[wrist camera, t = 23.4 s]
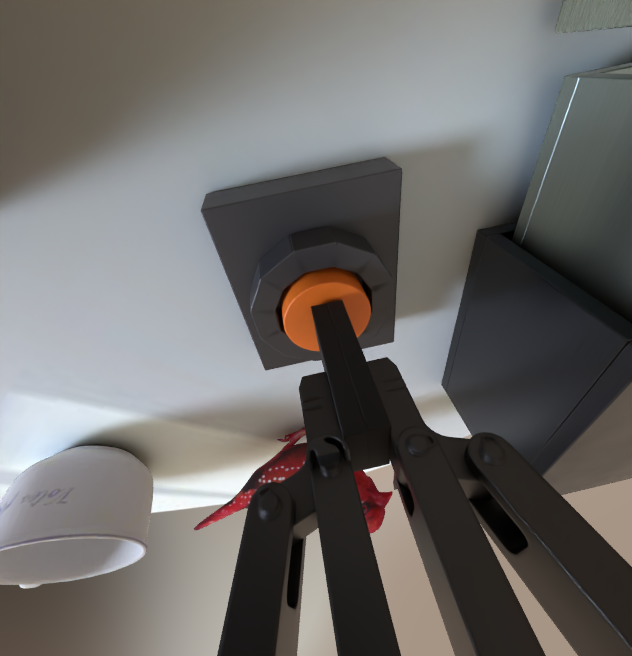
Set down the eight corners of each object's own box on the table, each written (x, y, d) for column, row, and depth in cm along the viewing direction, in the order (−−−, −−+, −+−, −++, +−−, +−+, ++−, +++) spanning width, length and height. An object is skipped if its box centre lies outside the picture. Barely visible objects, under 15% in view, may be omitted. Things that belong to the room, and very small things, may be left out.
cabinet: (477, 230, 18) (652, 358, 10) (697, 182, 19) (1028, 272, 11) (441, 384, 29) (514, 506, 21) (582, 352, 29) (706, 460, 21)
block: (205, 193, 15) (194, 227, 12) (386, 156, 15) (420, 180, 12) (263, 348, 22) (266, 392, 19) (383, 321, 22) (404, 361, 19)
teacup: (78, 414, 23) (21, 534, 17) (189, 457, 30) (174, 553, 24) (-21, 480, 27) (-96, 598, 21) (99, 505, 34) (67, 599, 28)
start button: (271, 273, 15) (273, 294, 13) (359, 254, 15) (370, 273, 13) (289, 337, 18) (293, 359, 16) (363, 321, 18) (372, 341, 16)
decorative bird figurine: (367, 415, 31) (405, 528, 23) (209, 466, 32) (197, 587, 25) (362, 400, 29) (401, 519, 21) (193, 455, 30) (175, 583, 23)
